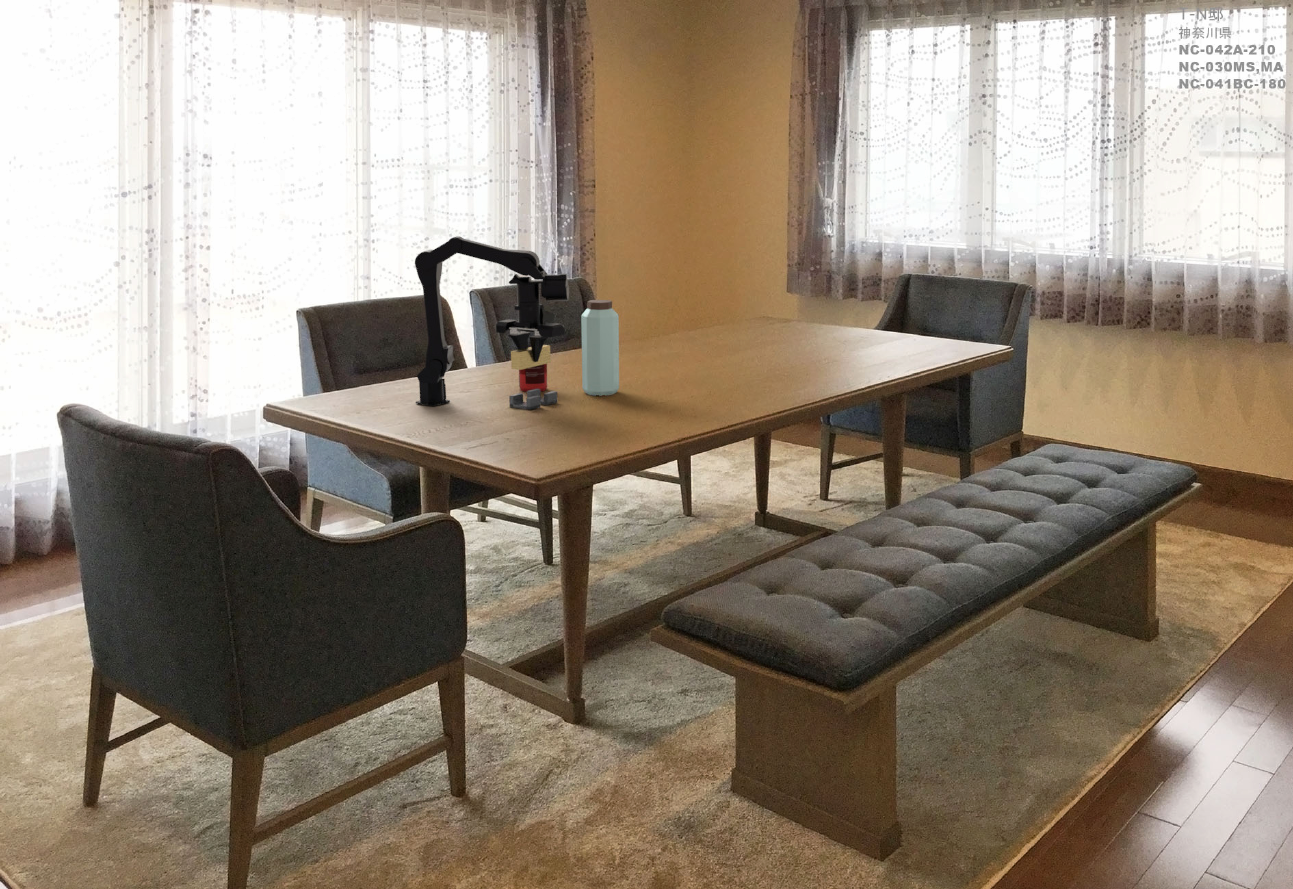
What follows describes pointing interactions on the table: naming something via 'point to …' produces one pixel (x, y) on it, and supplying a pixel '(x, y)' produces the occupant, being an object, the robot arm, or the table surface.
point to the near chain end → (530, 403)
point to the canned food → (533, 378)
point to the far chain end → (548, 397)
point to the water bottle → (600, 348)
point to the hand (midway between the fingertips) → (531, 361)
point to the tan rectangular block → (529, 358)
